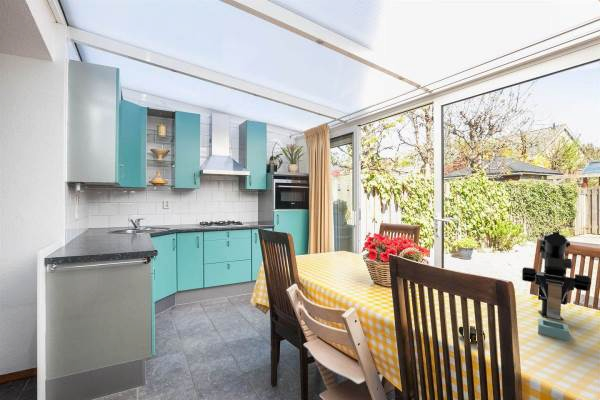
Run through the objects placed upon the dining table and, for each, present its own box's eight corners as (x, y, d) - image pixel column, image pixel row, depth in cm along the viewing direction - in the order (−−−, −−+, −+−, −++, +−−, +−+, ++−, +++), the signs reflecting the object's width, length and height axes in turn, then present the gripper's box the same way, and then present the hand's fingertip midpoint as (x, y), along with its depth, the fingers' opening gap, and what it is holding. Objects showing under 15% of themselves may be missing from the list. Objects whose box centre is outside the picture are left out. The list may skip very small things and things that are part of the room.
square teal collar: (538, 326, 110) (538, 318, 110) (566, 332, 106) (567, 324, 105) (538, 333, 104) (538, 324, 104) (568, 340, 99) (569, 332, 99)
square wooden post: (546, 313, 107) (548, 283, 107) (559, 316, 105) (561, 285, 105) (547, 316, 105) (548, 285, 104) (560, 319, 102) (561, 287, 102)
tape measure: (457, 334, 101) (458, 323, 101) (479, 337, 100) (480, 326, 100) (465, 344, 94) (465, 332, 94) (488, 347, 93) (489, 335, 93)
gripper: (523, 245, 113) (521, 280, 105) (591, 253, 102) (595, 292, 93) (523, 263, 120) (521, 297, 111) (587, 271, 108) (590, 310, 100)
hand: (554, 298), depth 104 cm, fingers closed on square wooden post, 3 cm apart
